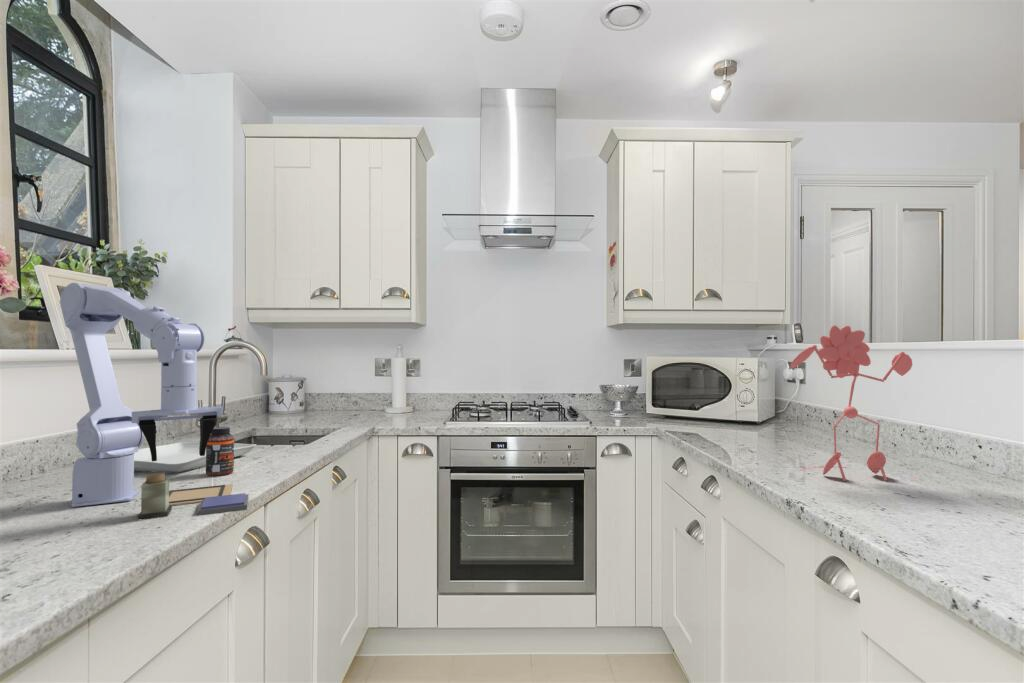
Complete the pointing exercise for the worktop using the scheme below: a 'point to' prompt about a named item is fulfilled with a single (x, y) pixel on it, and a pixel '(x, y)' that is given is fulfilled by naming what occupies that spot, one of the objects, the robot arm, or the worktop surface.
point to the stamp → (155, 496)
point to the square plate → (178, 457)
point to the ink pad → (223, 503)
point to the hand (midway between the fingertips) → (178, 457)
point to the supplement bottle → (220, 452)
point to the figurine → (845, 357)
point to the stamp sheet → (197, 494)
